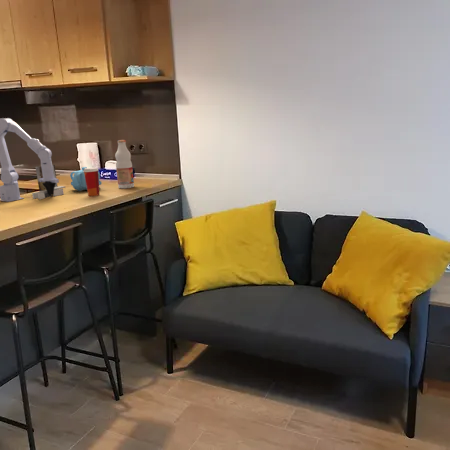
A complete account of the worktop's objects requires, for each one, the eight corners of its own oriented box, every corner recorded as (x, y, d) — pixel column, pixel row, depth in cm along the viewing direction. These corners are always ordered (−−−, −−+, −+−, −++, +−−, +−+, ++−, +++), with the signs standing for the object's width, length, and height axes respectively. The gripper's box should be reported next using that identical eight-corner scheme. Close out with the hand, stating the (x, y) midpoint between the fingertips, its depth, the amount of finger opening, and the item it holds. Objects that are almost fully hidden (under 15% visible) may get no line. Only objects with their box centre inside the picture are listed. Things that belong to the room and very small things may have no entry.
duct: (39, 199, 254) (38, 193, 253) (32, 198, 257) (32, 193, 256) (63, 194, 267) (63, 188, 266) (57, 193, 270) (56, 188, 269)
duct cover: (52, 190, 260) (51, 184, 260) (46, 189, 263) (45, 183, 262) (65, 187, 268) (64, 181, 267) (59, 187, 270) (58, 181, 270)
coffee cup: (95, 193, 264) (92, 167, 260) (104, 194, 259) (101, 167, 255) (83, 195, 258) (79, 169, 254) (91, 197, 253) (88, 169, 249)
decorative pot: (103, 189, 275) (101, 167, 272) (76, 193, 268) (73, 169, 265) (97, 186, 289) (94, 164, 286) (70, 189, 282) (67, 167, 279)
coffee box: (58, 191, 277) (55, 164, 273) (52, 193, 271) (48, 166, 267) (45, 191, 280) (41, 164, 276) (39, 193, 274) (34, 166, 270)
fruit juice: (116, 187, 281) (111, 140, 274) (130, 185, 286) (126, 139, 279) (121, 189, 273) (116, 141, 266) (136, 187, 278) (132, 139, 271)
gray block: (45, 198, 258) (44, 193, 258) (41, 197, 261) (41, 193, 260) (51, 196, 261) (51, 192, 261) (48, 196, 264) (47, 192, 263)
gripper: (62, 170, 254) (65, 194, 257) (45, 169, 262) (49, 193, 265) (51, 171, 248) (54, 196, 252) (34, 171, 256) (38, 195, 259)
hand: (51, 195), depth 258 cm, fingers closed
